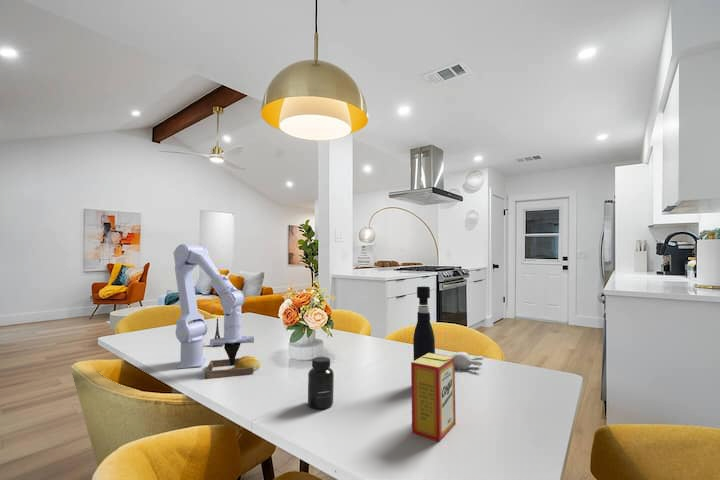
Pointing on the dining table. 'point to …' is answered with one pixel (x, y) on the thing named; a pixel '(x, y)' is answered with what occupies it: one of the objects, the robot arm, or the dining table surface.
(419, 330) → the wine bottle
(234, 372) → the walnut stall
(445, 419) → the baking soda box
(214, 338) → the eiffel tower figurine
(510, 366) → the dining table surface
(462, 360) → the grey fingered piece
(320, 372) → the supplement bottle
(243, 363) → the bread roll
